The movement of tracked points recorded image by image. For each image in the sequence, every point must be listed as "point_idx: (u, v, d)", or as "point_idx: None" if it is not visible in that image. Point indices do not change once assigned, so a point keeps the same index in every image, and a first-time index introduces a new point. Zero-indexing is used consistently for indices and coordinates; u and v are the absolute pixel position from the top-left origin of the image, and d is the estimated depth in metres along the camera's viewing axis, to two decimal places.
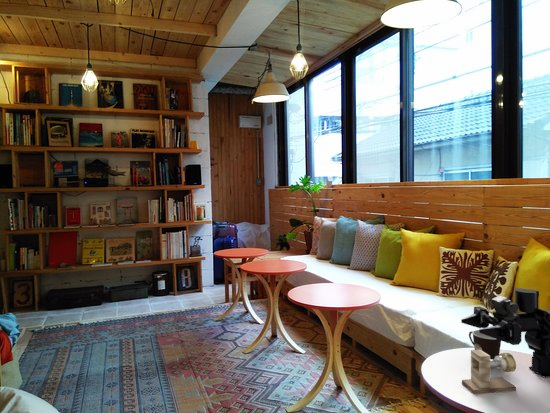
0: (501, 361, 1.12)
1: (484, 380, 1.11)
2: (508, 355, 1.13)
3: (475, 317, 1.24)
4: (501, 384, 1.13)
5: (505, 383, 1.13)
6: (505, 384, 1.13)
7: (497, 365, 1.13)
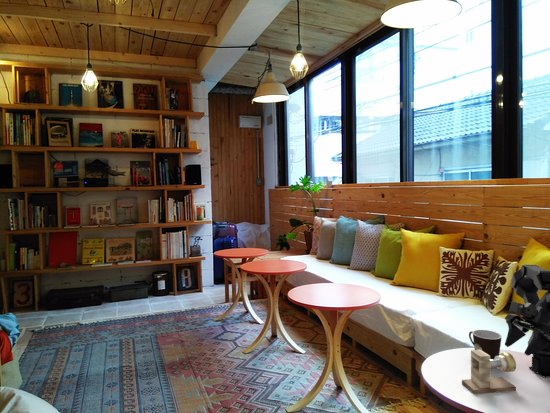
0: (501, 361, 1.12)
1: (484, 380, 1.11)
2: (508, 355, 1.13)
3: (513, 331, 1.19)
4: (501, 384, 1.13)
5: (505, 383, 1.13)
6: (505, 384, 1.13)
7: (497, 365, 1.13)
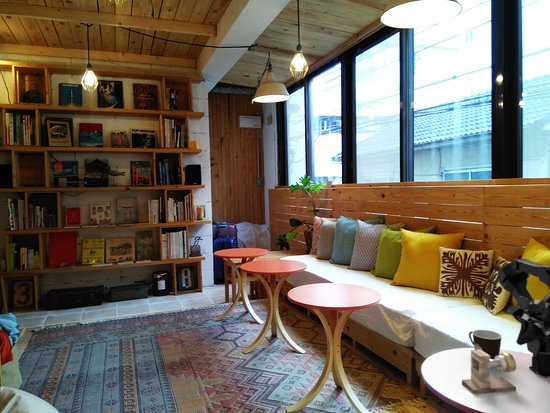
0: (501, 361, 1.12)
1: (484, 380, 1.11)
2: (508, 355, 1.13)
3: (526, 329, 1.15)
4: (501, 384, 1.13)
5: (505, 383, 1.13)
6: (505, 384, 1.13)
7: (497, 365, 1.13)
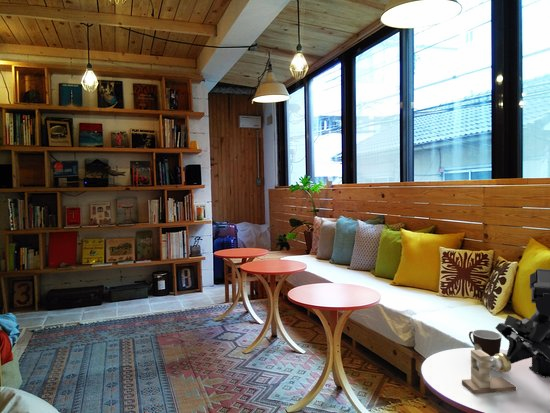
0: (496, 361, 1.12)
1: (484, 380, 1.11)
2: (503, 355, 1.13)
3: (514, 348, 1.14)
4: (501, 384, 1.13)
5: (505, 383, 1.13)
6: (505, 384, 1.13)
7: (492, 365, 1.12)
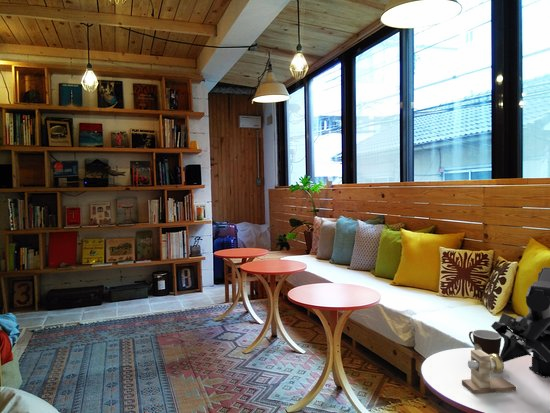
0: None
1: (484, 380, 1.11)
2: (496, 355, 1.13)
3: (508, 346, 1.14)
4: (501, 384, 1.13)
5: (505, 383, 1.13)
6: (505, 384, 1.13)
7: None
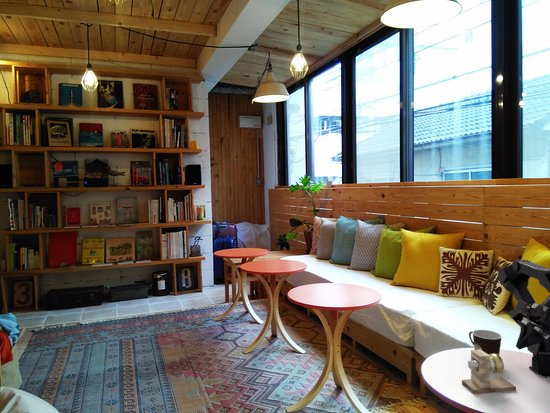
0: None
1: (484, 380, 1.11)
2: (496, 355, 1.13)
3: (525, 333, 1.15)
4: (501, 384, 1.13)
5: (505, 383, 1.13)
6: (505, 384, 1.13)
7: None
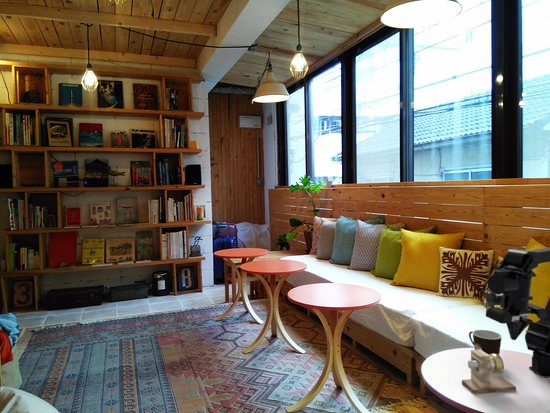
0: None
1: (484, 380, 1.11)
2: (496, 355, 1.13)
3: None
4: (501, 384, 1.13)
5: (505, 383, 1.13)
6: (505, 384, 1.13)
7: None
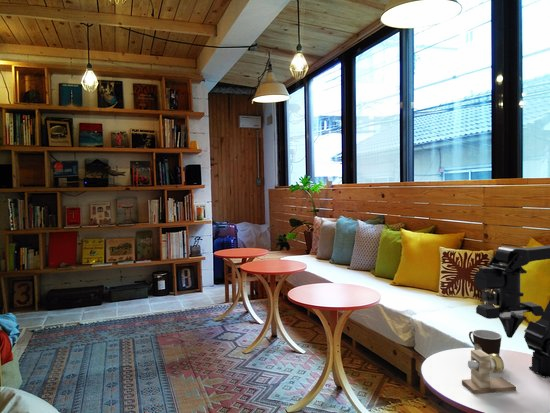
0: None
1: (484, 380, 1.11)
2: (496, 355, 1.13)
3: None
4: (501, 384, 1.13)
5: (505, 383, 1.13)
6: (505, 384, 1.13)
7: None
